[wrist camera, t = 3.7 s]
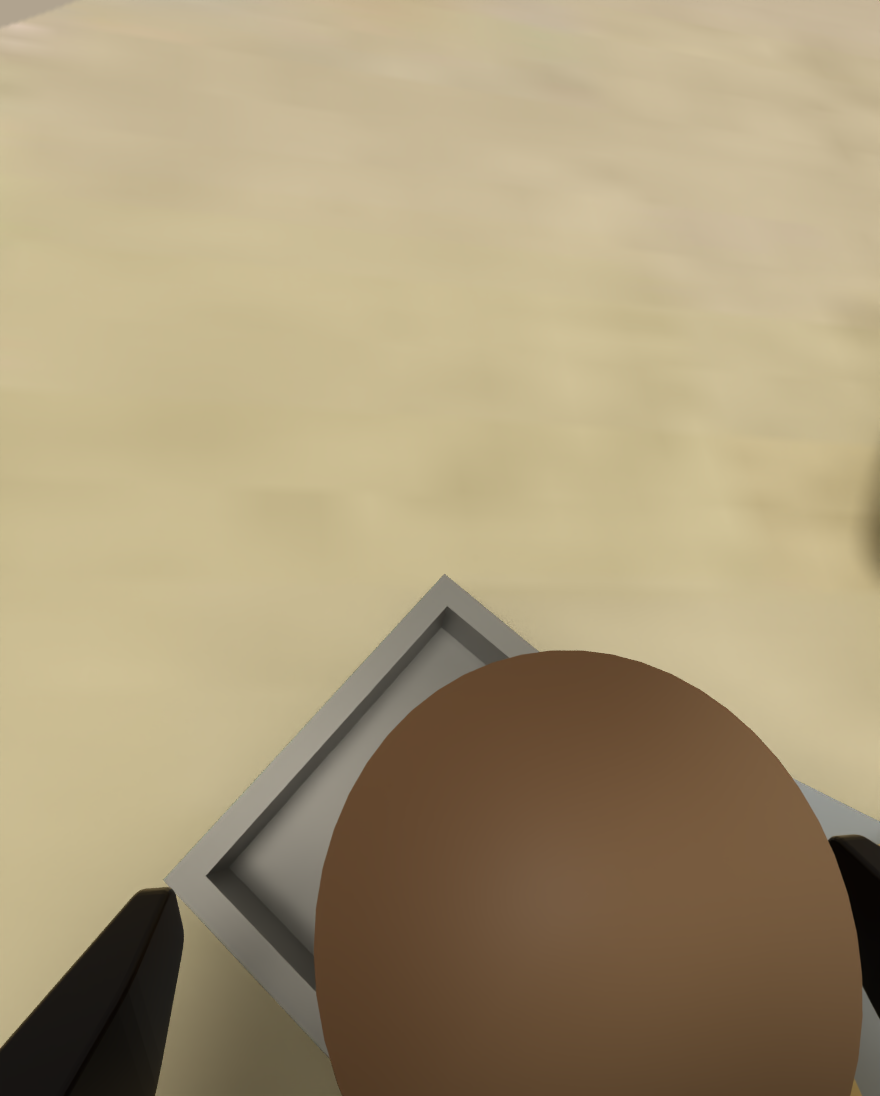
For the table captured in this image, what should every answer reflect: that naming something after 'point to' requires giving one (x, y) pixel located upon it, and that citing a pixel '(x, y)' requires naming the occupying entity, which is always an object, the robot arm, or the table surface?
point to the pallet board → (876, 1076)
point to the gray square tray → (324, 797)
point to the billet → (583, 899)
